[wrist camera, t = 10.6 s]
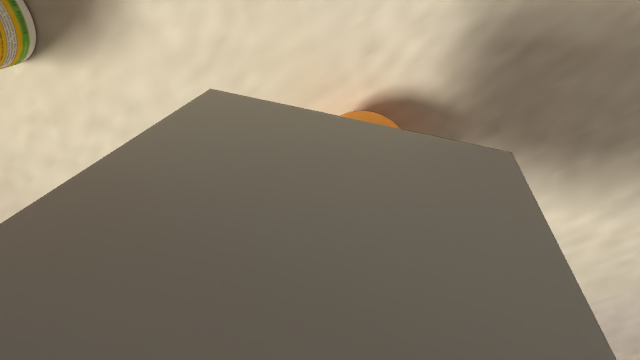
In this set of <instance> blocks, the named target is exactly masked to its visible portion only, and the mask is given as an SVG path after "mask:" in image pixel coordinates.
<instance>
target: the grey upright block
mask: <svg viewBox="0 0 640 360" xmlns="http://www.w3.org/2000/svg"><path fill="white" fill-rule="evenodd" d="M0 360H616V358H615V356H614V354H613V352H612V350H611V348H610V346H609V344H608V342H607V340H606V338H605V336H604V334H603V332H602V330H601V328H600V326H599V324H598V322H597V320H596V318H595V316H594V314H593V312H592V310H591V308H590V306H589V304H588V302H587V300H586V298H585V296H584V295H583V293H582V291H581V289H580V287H579V285H578V283H577V281H576V279H575V277H574V275H573V273H572V271H571V269H570V267H569V265H568V263H567V261H566V259H565V257H564V255H563V253H562V251H561V249H560V247H559V245H558V243H557V241H556V239H555V237H554V235H553V233H552V231H551V229H550V227H549V225H548V223H547V221H546V219H545V217H544V215H543V213H542V211H541V209H540V207H539V205H538V203H537V201H536V199H535V197H534V195H533V194H532V192H531V190H530V188H529V186H528V184H527V182H526V180H525V178H524V176H523V174H522V172H521V170H520V168H519V166H518V164H517V162H516V160H515V158H514V156H513V154H512V152H507V151H502V150H498V149H493V148H488V147H483V146H479V145H474V144H469V143H465V142H460V141H455V140H450V139H446V138H441V137H436V136H431V135H427V134H422V133H417V132H412V131H408V130H403V129H398V128H394V127H389V126H384V125H379V124H375V123H370V122H365V121H360V120H356V119H351V118H346V117H342V116H337V115H332V114H327V113H323V112H318V111H313V110H308V109H304V108H299V107H294V106H289V105H285V104H280V103H275V102H271V101H266V100H261V99H256V98H252V97H247V96H242V95H237V94H233V93H228V92H223V91H219V90H214V89H209V90H208V91H206V92H205V93H203V94H202V95H200V96H198V97H197V98H195V99H194V100H192V101H191V102H189V103H188V104H186V105H184V106H183V107H181V108H180V109H178V110H177V111H175V112H173V113H172V114H170V115H169V116H167V117H166V118H164V119H163V120H161V121H159V122H158V123H156V124H155V125H153V126H152V127H150V128H149V129H147V130H145V131H144V132H142V133H141V134H139V135H138V136H136V137H135V138H133V139H131V140H130V141H128V142H127V143H125V144H124V145H122V146H121V147H119V148H117V149H116V150H114V151H113V152H111V153H110V154H108V155H107V156H105V157H103V158H102V159H100V160H99V161H97V162H96V163H94V164H93V165H91V166H89V167H88V168H86V169H85V170H83V171H82V172H80V173H79V174H77V175H75V176H74V177H72V178H71V179H69V180H68V181H66V182H65V183H63V184H61V185H60V186H58V187H57V188H55V189H54V190H52V191H51V192H49V193H47V194H46V195H44V196H43V197H41V198H40V199H38V200H37V201H35V202H33V203H32V204H30V205H29V206H27V207H26V208H24V209H23V210H21V211H19V212H18V213H16V214H15V215H13V216H12V217H10V218H9V219H7V220H5V221H4V222H2V223H1V224H0Z"/></svg>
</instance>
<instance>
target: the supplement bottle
mask: <svg viewBox="0 0 640 360" xmlns="http://www.w3.org/2000/svg"><path fill="white" fill-rule="evenodd" d="M35 43H36V31H35V26H34V22H33V19H32V17H31V14H30V12H29V10H28V8H27V6H26V4H25V3H24V1H23V0H0V69H3V68H6V67H9V66H13V65H16V64H19V63H22V62H23V61H25V60H27V59H28V58H29V57H30V55H31V54H32V52H33V50H34V48H35Z"/></svg>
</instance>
